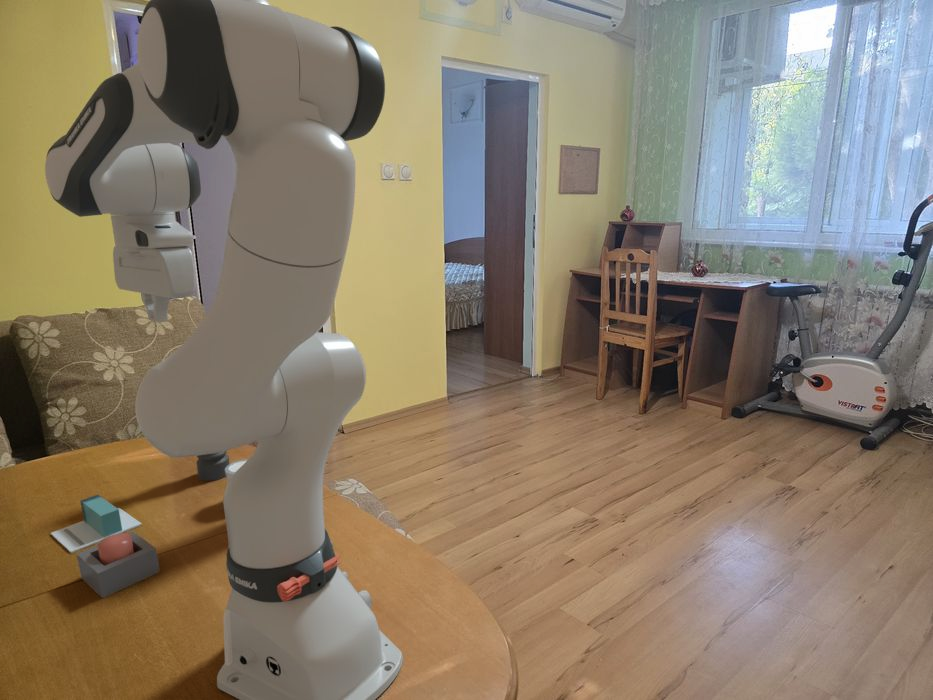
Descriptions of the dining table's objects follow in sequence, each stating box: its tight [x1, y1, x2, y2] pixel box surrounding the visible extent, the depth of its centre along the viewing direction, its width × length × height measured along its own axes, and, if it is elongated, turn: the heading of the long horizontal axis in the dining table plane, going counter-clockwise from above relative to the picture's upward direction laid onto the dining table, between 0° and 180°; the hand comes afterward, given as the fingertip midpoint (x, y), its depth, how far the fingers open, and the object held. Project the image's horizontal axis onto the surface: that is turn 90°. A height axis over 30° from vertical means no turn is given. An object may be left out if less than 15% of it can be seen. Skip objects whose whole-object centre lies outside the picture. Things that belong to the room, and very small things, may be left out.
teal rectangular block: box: [80, 494, 122, 537], centre depth 104 cm, size 9×3×4 cm, turn 51°
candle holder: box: [196, 450, 230, 482], centre depth 121 cm, size 6×6×25 cm
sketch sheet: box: [50, 507, 143, 554], centre depth 103 cm, size 10×11×1 cm
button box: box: [76, 531, 160, 599], centre depth 90 cm, size 8×8×4 cm
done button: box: [97, 532, 134, 566], centre depth 90 cm, size 4×4×5 cm
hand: (158, 321), depth 96 cm, fingers closed
